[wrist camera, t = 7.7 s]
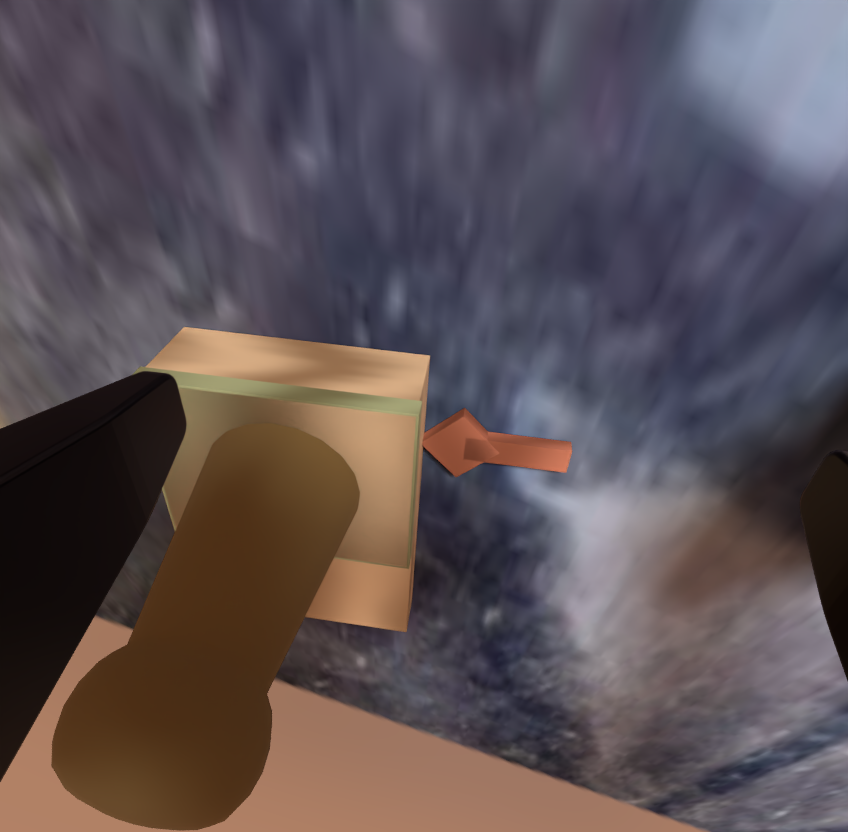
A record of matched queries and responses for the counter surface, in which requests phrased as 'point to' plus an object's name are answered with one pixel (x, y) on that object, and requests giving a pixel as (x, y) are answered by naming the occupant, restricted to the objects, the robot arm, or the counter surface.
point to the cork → (210, 637)
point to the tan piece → (338, 445)
